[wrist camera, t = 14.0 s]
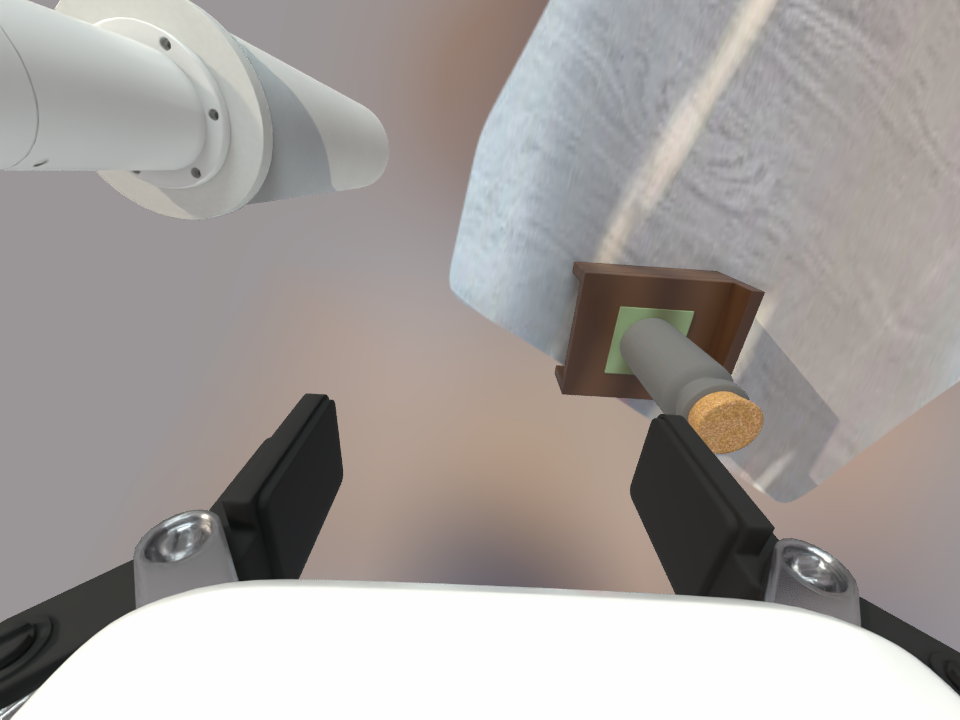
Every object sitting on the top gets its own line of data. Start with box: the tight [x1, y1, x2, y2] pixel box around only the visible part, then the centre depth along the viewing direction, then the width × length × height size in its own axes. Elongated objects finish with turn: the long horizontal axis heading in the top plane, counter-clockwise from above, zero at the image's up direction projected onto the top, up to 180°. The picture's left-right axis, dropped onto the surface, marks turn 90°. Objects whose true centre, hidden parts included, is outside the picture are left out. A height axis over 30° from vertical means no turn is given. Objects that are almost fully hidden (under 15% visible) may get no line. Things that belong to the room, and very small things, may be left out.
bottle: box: [620, 318, 763, 454], centre depth 34 cm, size 6×6×15 cm
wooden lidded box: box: [555, 262, 765, 400], centre depth 42 cm, size 16×14×8 cm
